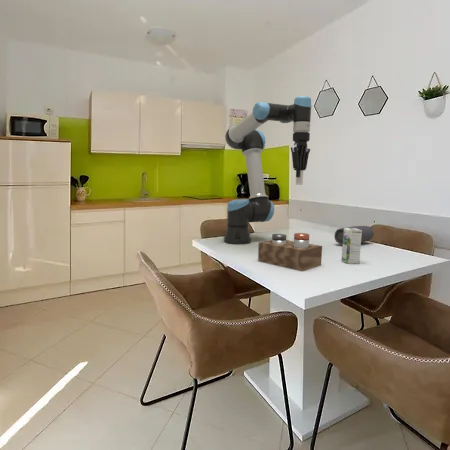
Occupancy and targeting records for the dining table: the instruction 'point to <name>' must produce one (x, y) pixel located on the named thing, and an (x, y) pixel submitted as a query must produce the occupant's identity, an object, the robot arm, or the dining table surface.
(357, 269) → the dining table surface
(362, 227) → the bluetooth speaker
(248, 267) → the dining table surface
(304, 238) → the red lid glass jar
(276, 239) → the grey lid glass jar
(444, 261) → the dining table surface
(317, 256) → the wooden jar holder
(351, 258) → the syrup box
